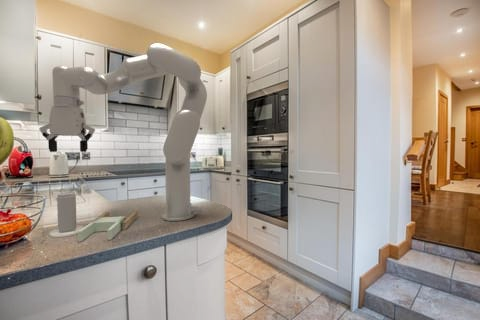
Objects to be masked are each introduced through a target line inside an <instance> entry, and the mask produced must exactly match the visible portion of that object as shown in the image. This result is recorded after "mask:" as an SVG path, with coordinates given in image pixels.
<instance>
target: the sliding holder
mask: <svg viewBox="0 0 480 320" xmlns="http://www.w3.org/2000/svg"><path fill="white" fill-rule="evenodd" d="M96 218H97V217H96ZM96 218H95V219H96ZM126 218H127V216H109V217H100V218H97V219H96V220H94V219H93V220H94V221H93V220H92V221H93V222H91V221H90V222H91V223H90V222H89V223H90V224H88V223H87V224H88V225H87V224H86V225H85V226H84V228H82V229H81V230H79V231H78V234H77V242H79V243H81V242H83V241H84V240H86V239H87V238H88V237H89V236H91V235H92V234H93V233H97V232H98V233H99V232H106V234H107V236H106V237H107V240H108V241H109V240H110V241H111V240H112V239H113V238H114V237H116V235H117V234H118V233H119V232H121V231H122V222H123V221H124V220H125V219H126Z"/></svg>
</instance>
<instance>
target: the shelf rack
mask: <svg viewBox="0 0 480 320" xmlns="http://www.w3.org/2000/svg"><path fill="white" fill-rule="evenodd" d="M100 217H110V211H105V212H103V213H102V214H101V215H99V216H98V217H96V218H94V219H93V220H91V221H90V222H88V223H86V226H87V225H88V224H90V223H91V222H93V221H94V220H96V219H97V218H100ZM138 217H139V210H134V211H133V212H132V213H130V214H129V216H128V217H126V219H125V220H124V221H123V222H122V229H121V231H124V230H126V231H127V229H128V228H129V227H130V226H131V225H132V224H133V223H134V222H135V221H136V220H137V219H138Z"/></svg>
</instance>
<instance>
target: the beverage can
mask: <svg viewBox="0 0 480 320" xmlns="http://www.w3.org/2000/svg"><path fill="white" fill-rule="evenodd" d="M56 201H57V202H56V207H57V229H58V231H59V232H70V231H73V230H75V229H76V227H77V195H76V193H75V192H61V193H58V194H57V196H56Z"/></svg>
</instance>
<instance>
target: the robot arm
mask: <svg viewBox="0 0 480 320" xmlns="http://www.w3.org/2000/svg"><path fill="white" fill-rule="evenodd" d="M168 74H170V75H172V76H173V77H176V78H178V82H179V85H180V86H181V87H182V88H183V89H184V91H185V96H184V99H183V102H182V106H181V107H180V110H179V111H177V112H176V113H175V115H174V117H173V119H172V121H171V124H170V128H169V130H168V132H167V134H166V135H167V136H166V138H165V141H164V143H163V146H162V147H163V149H162V150H163V156H164V157H165V212H164V213H162V214H161V218H162V220H165V221H169V222H178V221H186V220H189V219H192V218H194V216H195V213H199V212H200V213H201V212H203V211H202V209H203V208H202V206H199V205H198V206H197V205H196V206H193V205H192V203H191V152H192V149H193V146H194V143H195V140H196V138H197V135H198V133H199V129H200V127H201V118H202V115H203V113H204V109H205V106H206V104H207V98H208V91H207V88H206V86H205V84H204V82H203V81H202V79H201V76H202V71H201V67H200V65H199V63H198V62H197V61H196V60H194V59H193V58H191V57H189V56H188V55H186V54H184V53H182V52H180V51H178V50H177V49H174V48H172V47H170V46H168V45H166V44H163V43H160V42H159V43H158V42H155V43H152V44H150V45H149V46H148V47H147V49H146V54H145V53H144V54H142V55H137V56H131V57H126V58H125V59H124V60H123V61H122V63H121V64H120V66H119V67H118V68H117V69H115V70H114V71H110V72H107V73H102V74H100V73H98V72H97V71H96V70H95V69H94V68H92V67H89V66H74V67H69V66H63V65H61V66H60V65H59V66H58V65H57V66H54V67H53V69H52V96H53V97H52V99H53V101H52V103H53V106H52V105H51V108H50V113H49V119H48V120H49V121H48V122H49V123H47V124H45V125H43V126H41V127H40V126H39V132H40V133H41V134H42V136H43V138H45V139H46V141H48V142H47V143H48V150H49V152H50V153H56V152H58V142H57V140H56V139H57V138H58V137H59V136H63V137H74V136H75V137H78V138H79V139H80V141H79V148H80V149H79V150H80V152H81V153H83V152H84V153H85V152H87V150H88V148H89V147H88V146H89V145H88V142H89V140H90V139H91V138H92V137H93V135H94V133H95V131H96V129H95V128H93V127H92V126H90V125H87V124H86V123H87V122H86V116H85V113H84V109H83V108H81V106H83V105H85V102H84V101H83V100H81V96H80V89H83V90H86V91H87V92H90V93H91V94H92V95H97V96H99V95H100V96H101V95H107V94H110V93H115V92H118V91H122V90H123V89H125V88H127V87H129V86H132V85H133V84H135V83H138V82H141V81H145V80H150V79H153V78H158V77H162V76H165V75H168ZM48 130H49V132H48ZM87 130H88V133H87Z"/></svg>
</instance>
